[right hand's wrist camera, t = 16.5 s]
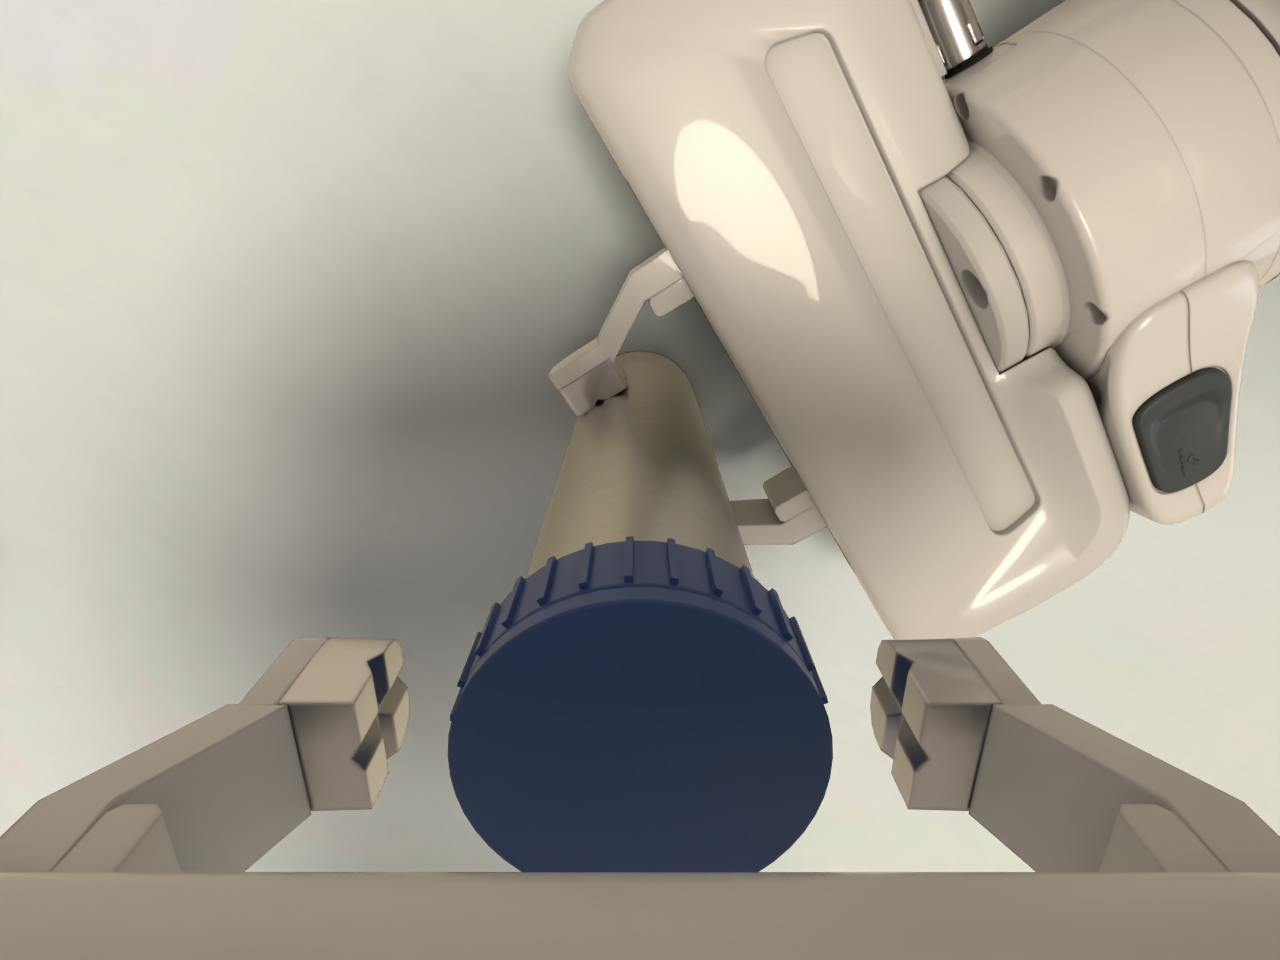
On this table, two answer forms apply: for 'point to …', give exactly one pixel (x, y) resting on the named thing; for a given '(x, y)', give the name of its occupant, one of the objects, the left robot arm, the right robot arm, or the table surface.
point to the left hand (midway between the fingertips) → (615, 469)
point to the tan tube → (641, 472)
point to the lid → (640, 717)
